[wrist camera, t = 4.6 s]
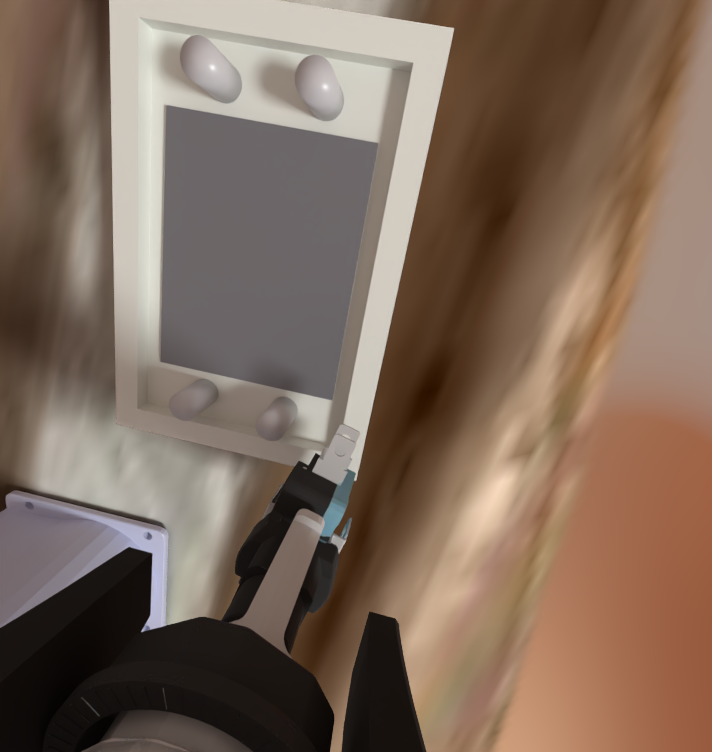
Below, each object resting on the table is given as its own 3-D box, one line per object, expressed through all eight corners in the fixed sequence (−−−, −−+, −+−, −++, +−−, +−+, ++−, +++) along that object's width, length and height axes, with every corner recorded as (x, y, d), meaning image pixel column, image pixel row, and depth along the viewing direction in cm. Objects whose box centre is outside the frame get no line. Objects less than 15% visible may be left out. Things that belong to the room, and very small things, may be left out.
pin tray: (147, 405, 20) (97, 435, 16) (151, 13, 14) (81, -53, 11) (361, 455, 19) (352, 496, 16) (447, 61, 14) (458, 6, 11)
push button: (289, 390, 14) (33, 622, 5) (421, 455, 14) (433, 831, 5) (230, 528, 16) (-40, 894, 7) (346, 586, 16) (243, 1047, 6)
